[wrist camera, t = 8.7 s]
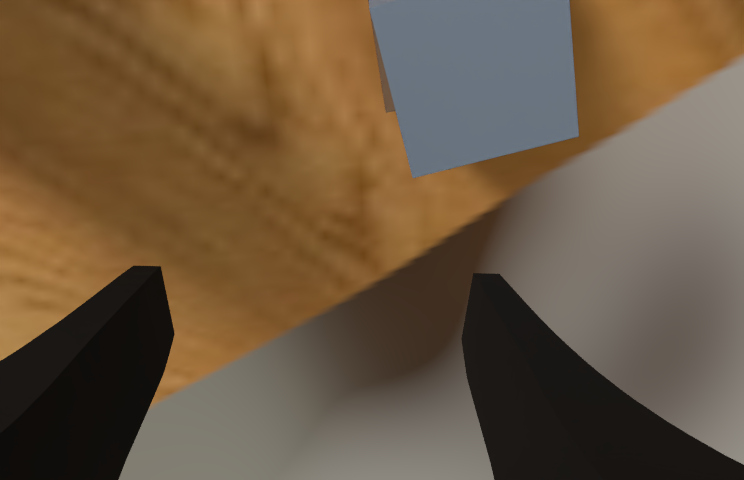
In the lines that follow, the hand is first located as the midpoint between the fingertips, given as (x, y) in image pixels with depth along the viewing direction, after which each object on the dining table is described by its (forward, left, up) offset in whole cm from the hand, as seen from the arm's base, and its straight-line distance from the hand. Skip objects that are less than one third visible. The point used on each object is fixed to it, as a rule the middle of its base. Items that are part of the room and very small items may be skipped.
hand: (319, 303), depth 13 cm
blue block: (+4, +4, -6) cm, 9 cm away
